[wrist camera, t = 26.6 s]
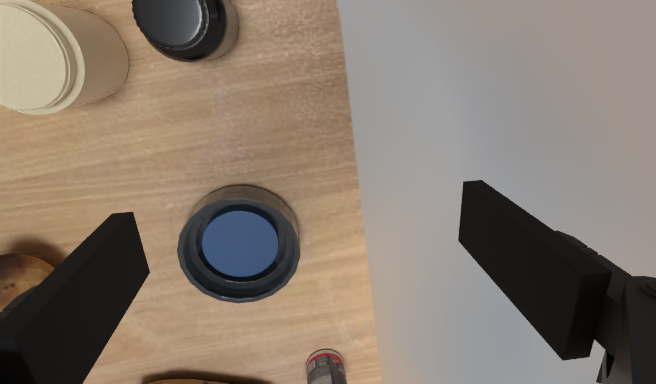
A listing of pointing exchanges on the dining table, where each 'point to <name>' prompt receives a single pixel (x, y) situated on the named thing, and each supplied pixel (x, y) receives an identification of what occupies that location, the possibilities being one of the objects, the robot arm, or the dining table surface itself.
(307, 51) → the dining table surface
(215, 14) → the supplement bottle
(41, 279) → the potato
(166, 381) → the bread
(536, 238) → the robot arm
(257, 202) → the bowl
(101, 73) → the jar
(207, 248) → the jar lid
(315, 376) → the pill bottle
